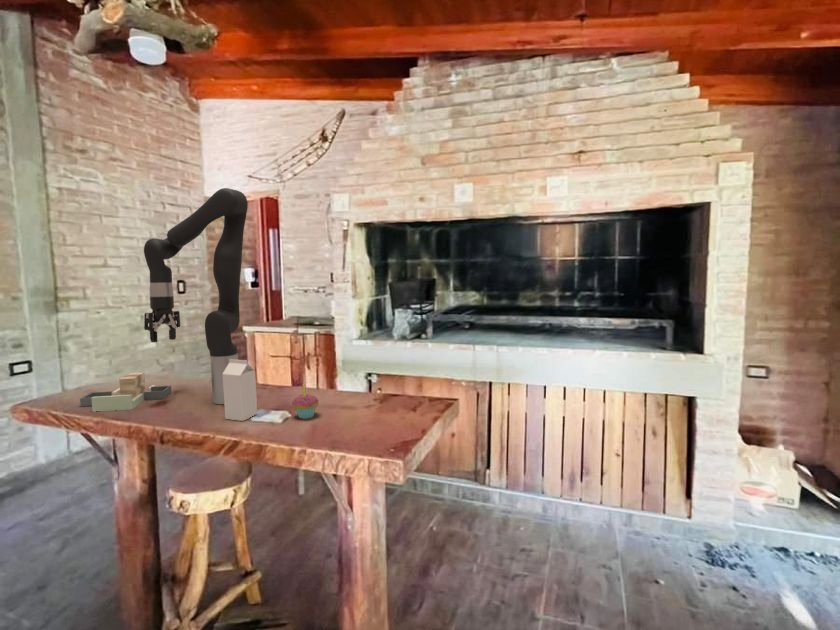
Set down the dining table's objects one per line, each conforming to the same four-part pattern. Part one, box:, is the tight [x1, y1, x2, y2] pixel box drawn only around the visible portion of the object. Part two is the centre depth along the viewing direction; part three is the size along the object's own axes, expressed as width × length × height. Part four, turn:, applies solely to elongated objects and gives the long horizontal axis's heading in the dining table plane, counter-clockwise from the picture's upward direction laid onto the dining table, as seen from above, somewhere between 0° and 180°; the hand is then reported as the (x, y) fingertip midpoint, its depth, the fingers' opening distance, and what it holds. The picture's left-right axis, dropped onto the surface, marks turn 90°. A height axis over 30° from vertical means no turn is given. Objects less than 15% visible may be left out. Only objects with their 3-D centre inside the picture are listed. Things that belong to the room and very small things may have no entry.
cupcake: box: [291, 381, 319, 420], centre depth 162 cm, size 9×8×12 cm
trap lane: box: [79, 384, 172, 413], centre depth 182 cm, size 23×26×5 cm
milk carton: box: [223, 359, 258, 422], centre depth 161 cm, size 7×7×19 cm
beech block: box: [118, 371, 147, 399], centre depth 188 cm, size 10×5×8 cm, turn 9°
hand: (163, 340), depth 179 cm, fingers open, 8 cm apart
